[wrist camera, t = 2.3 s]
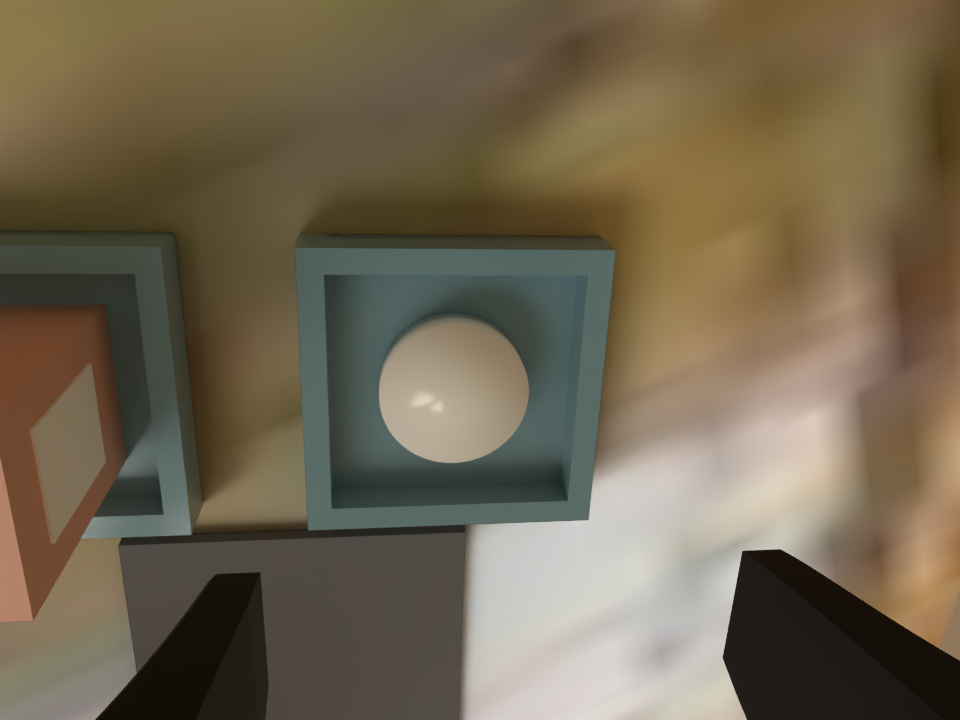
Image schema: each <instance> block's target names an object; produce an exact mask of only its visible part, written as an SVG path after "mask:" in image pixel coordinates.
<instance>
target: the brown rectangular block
mask: <svg viewBox="0 0 960 720" xmlns="http://www.w3.org/2000/svg"><path fill="white" fill-rule="evenodd" d="M126 460H127V458H126V450H125V443H124V436H123V429H122V421H121V414H120V407H119V399H118V392H117V385H116V378H115V370H114V363H113V356H112V348H111V341H110V334H109V327H108V319H107V312H106V305H0V622H16V621H33V620H34V618H35V617H36V615H37V613H38V612H39V610H40V608H41V606H42V605H43V603H44V601H45V599H46V598H47V596H48V594H49V593H50V591H51V589H52V587H53V586H54V584H55V582H56V581H57V579H58V577H59V575H60V574H61V572H62V570H63V568H64V567H65V565H66V563H67V562H68V560H69V558H70V556H71V555H72V553H73V551H74V549H75V548H76V546H77V544H78V543H79V541H80V539H81V537H82V536H83V534H84V532H85V530H86V529H87V527H88V525H89V524H90V522H91V520H92V518H93V517H94V515H95V513H96V511H97V510H98V508H99V506H100V505H101V503H102V501H103V499H104V498H105V496H106V494H107V493H108V491H109V489H110V487H111V486H112V484H113V482H114V480H115V479H116V477H117V475H118V474H119V472H120V470H121V468H122V467H123V465H124V463H125V461H126Z"/></svg>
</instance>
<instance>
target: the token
mask: <svg viewBox="0 0 960 720" xmlns="http://www.w3.org/2000/svg"><path fill="white" fill-rule="evenodd" d="M528 398H529V384H528V378H527V374H526V371H525V368H524V365H523V363H522V361H521V359H520V357H519V355H518V353H517V351H516V348H515V346H514V345H513V343H512V342H511V340H510V339H509V337H508V336H507V335H506V334H505V333H504V332H503V331H502V330H501V329H500V328H498V327H497V326H496V325H495V324H493V323H491V322H490V321H488V320H486V319H484V318H482V317H479V316H476V315H473V314H468V313H462V312H445V313H439V314H434V315H431V316H428V317H425V318H422V319H420V320H418V321H416V322H414V323H413V324H411V325H410V326H408V327H407V328H406V329H404V330H403V331H402V332H401V333H400V334H399V335H398V336H397V337H396V338H395V339H394V340H393V342H392V343H391V345H390V346H389V348H388V349H387V351H386V353H385V355H384V358H383V361H382V364H381V368H380V373H379V402H380V409H381V413H382V417H383V419H384V422H385V424H386V426H387V428H388V429H389V431H390V433H391V434H392V435H393V437H394V438H395V439H396V440H397V441H398V442H399V443H400V444H401V445H402V446H403V447H405V448H406V449H407V450H409V451H410V452H412V453H414V454H416V455H418V456H420V457H422V458H425V459H428V460H432V461H436V462H443V463H459V462H466V461H471V460H474V459H477V458H480V457H483V456H485V455H487V454H489V453H491V452H493V451H494V450H496V449H497V448H499V447H500V446H501V445H503V444H504V443H505V442H506V441H507V440H508V439H509V438H510V437H511V436H512V435H513V434H514V432H515V431H516V430H517V428H518V427H519V425H520V423H521V421H522V419H523V417H524V415H525V412H526V408H527V405H528Z"/></svg>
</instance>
